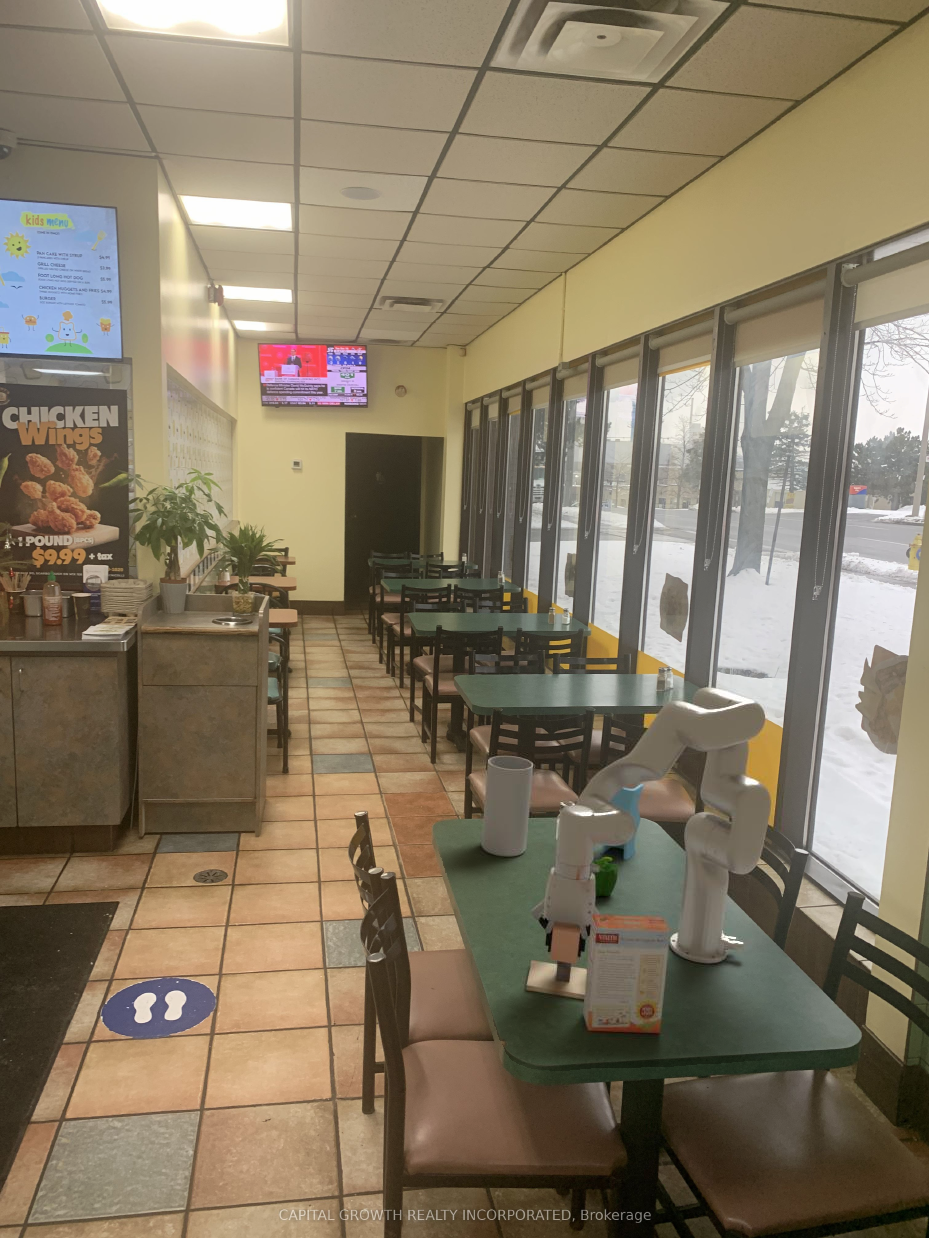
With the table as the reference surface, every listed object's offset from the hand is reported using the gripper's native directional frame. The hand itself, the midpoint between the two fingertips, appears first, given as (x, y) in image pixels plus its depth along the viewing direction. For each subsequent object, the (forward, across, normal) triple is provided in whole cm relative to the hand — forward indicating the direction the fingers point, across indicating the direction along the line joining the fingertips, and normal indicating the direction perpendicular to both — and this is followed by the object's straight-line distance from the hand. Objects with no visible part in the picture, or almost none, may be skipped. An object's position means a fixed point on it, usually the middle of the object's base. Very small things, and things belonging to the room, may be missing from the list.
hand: (564, 950), depth 183 cm
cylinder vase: (+7, +21, -65) cm, 69 cm away
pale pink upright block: (+1, 0, 0) cm, 1 cm away
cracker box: (+7, -12, +11) cm, 18 cm away
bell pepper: (+7, -6, -45) cm, 46 cm away
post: (+7, 0, 0) cm, 7 cm away
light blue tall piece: (+7, -11, -74) cm, 75 cm away
